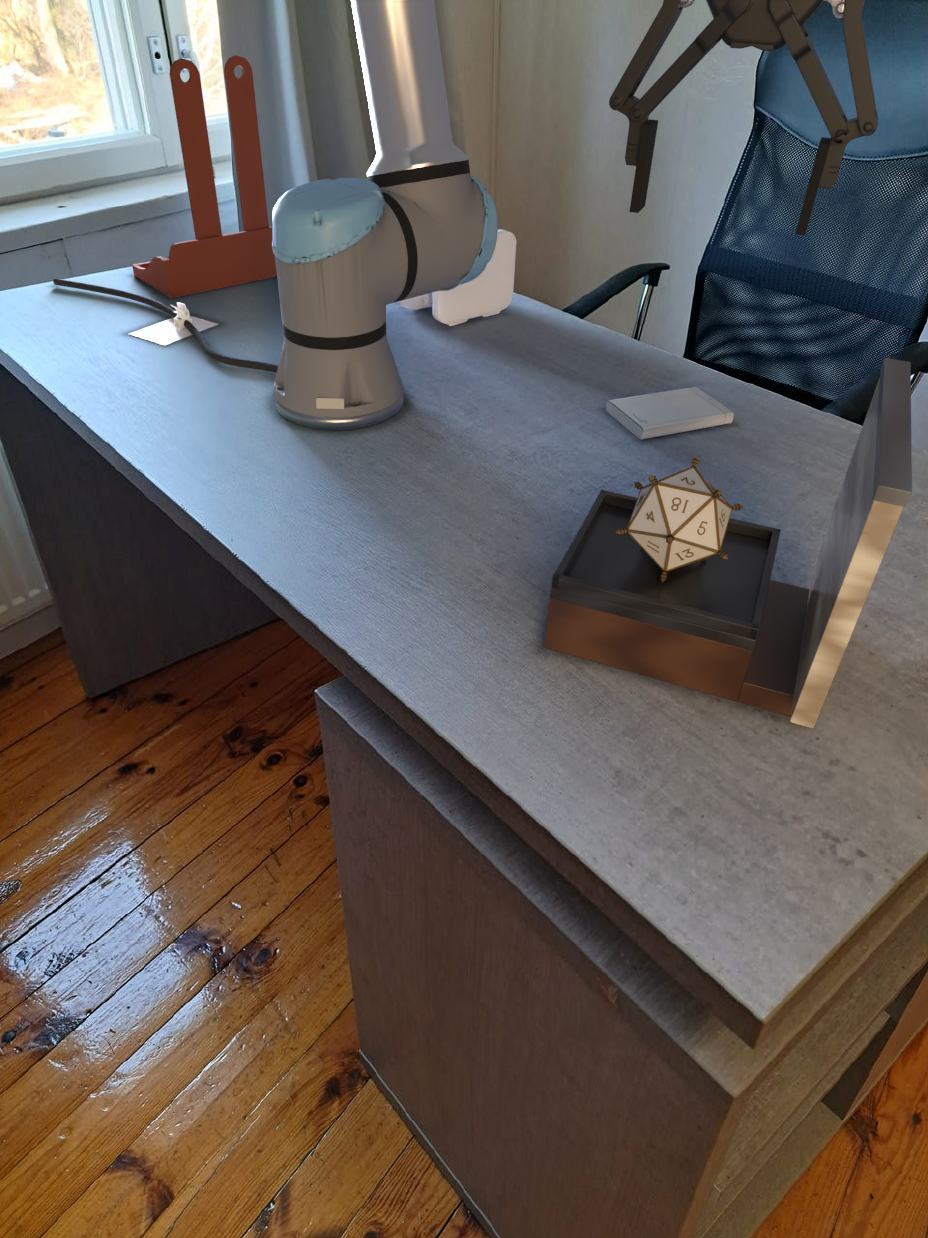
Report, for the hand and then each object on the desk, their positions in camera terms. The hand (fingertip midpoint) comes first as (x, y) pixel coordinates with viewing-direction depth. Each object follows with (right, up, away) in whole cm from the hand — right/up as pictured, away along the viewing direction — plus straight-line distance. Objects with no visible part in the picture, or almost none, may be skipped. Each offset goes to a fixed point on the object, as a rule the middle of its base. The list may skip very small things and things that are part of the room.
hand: (717, 220), depth 72 cm
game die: (-5, -29, -4) cm, 30 cm away
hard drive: (+3, -10, +30) cm, 32 cm away
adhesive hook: (-62, +7, +48) cm, 78 cm away
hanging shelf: (-60, +23, +68) cm, 94 cm away
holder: (-3, -34, -1) cm, 34 cm away
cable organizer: (-23, +13, +57) cm, 63 cm away
